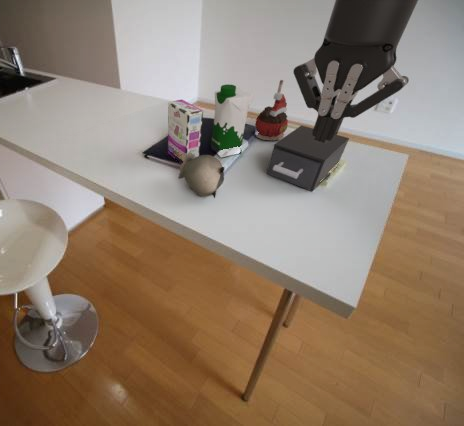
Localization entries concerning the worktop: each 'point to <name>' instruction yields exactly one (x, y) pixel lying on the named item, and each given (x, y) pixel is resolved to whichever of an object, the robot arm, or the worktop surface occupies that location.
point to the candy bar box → (184, 128)
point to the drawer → (293, 168)
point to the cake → (273, 118)
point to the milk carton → (230, 116)
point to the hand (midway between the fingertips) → (321, 140)
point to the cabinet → (313, 150)
